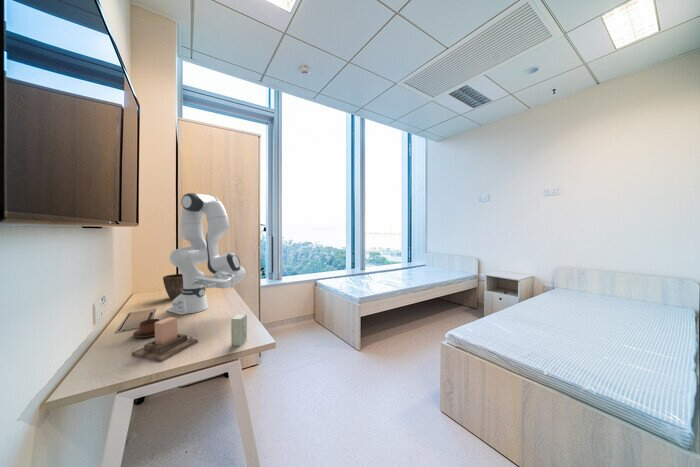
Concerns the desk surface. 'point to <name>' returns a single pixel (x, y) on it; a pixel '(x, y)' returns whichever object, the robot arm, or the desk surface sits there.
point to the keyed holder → (165, 348)
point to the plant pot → (173, 285)
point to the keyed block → (165, 331)
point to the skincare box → (238, 329)
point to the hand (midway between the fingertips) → (199, 285)
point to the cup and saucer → (146, 329)
